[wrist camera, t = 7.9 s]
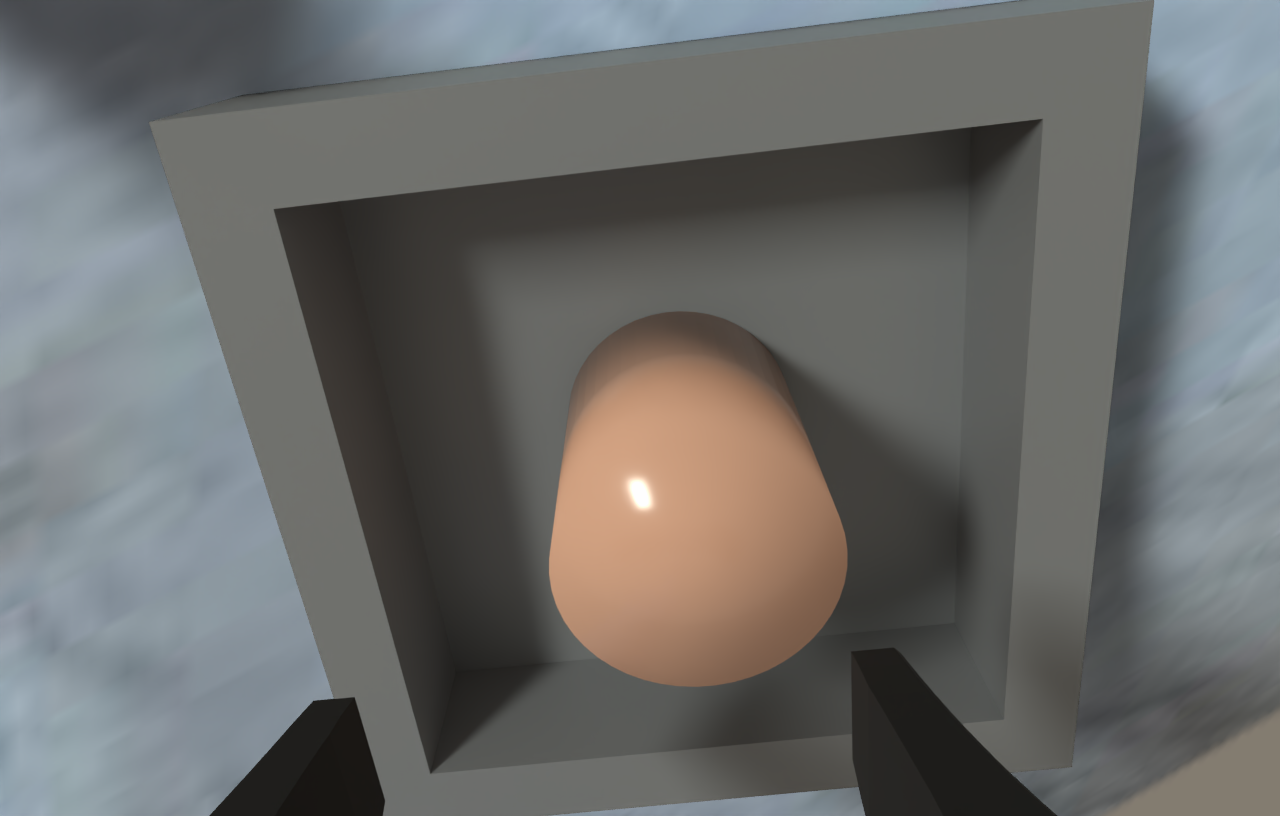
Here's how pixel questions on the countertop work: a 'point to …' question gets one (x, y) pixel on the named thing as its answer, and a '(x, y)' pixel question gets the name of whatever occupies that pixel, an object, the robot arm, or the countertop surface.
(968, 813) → the robot arm
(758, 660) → the peach rounded cylinder
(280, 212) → the bin
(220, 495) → the countertop surface
